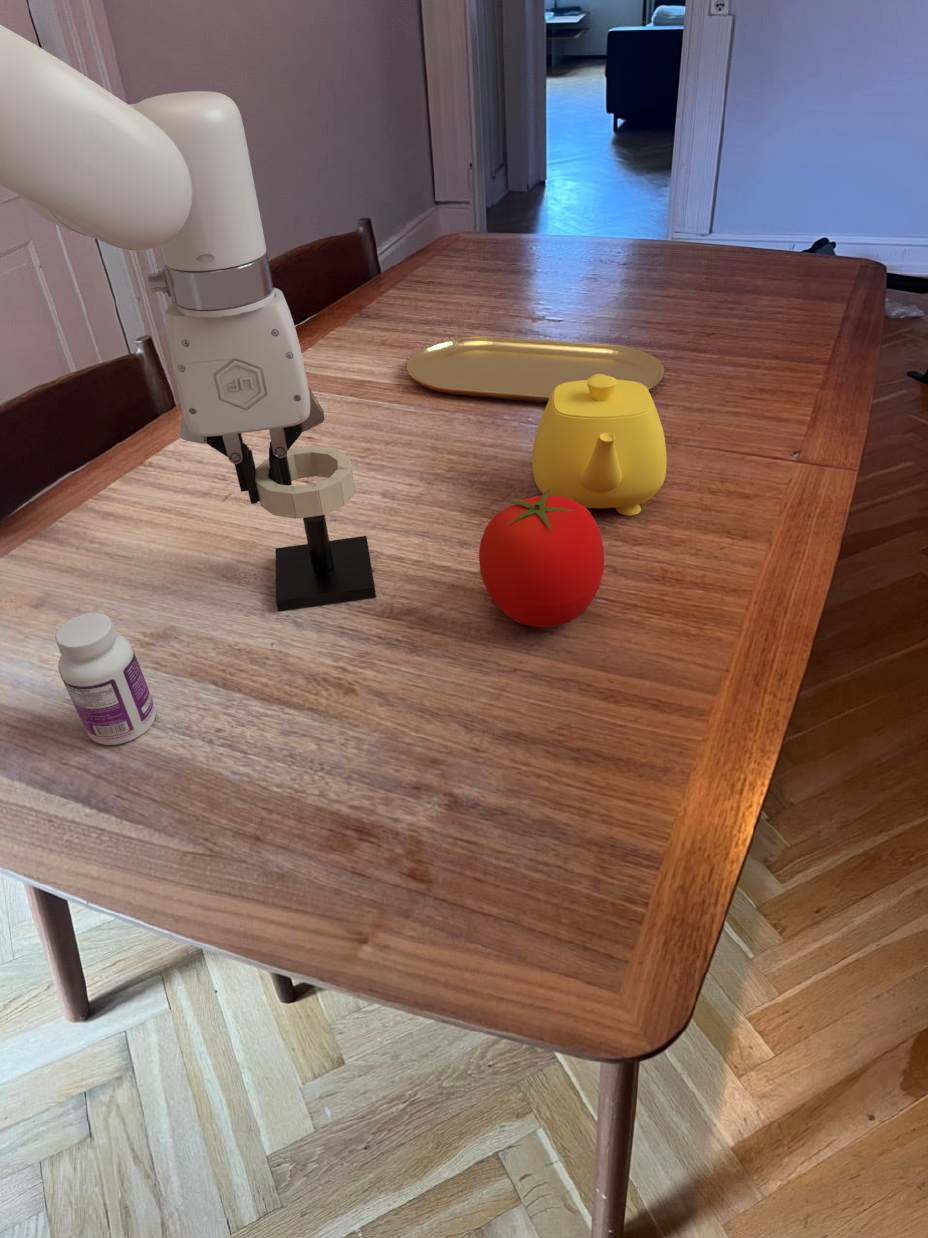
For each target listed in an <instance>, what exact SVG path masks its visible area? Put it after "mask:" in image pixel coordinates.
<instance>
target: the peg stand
mask: <svg viewBox="0 0 928 1238" xmlns="http://www.w3.org/2000/svg"><path fill="white" fill-rule="evenodd" d="M302 522H303V526H304V532H305V536H306V542H307V543H304V544H296V545H290V546H281V547H276V548H275V552H274V553H275V562H274V563H275V569H274V570H275V605H276V609H277V612H285V611H291V610H298V609H304V608H305V609H306V608H312V607H319V606H325V605H332V604H339V603H347V602H352V601H359V600H366V599H373V598H376V597H377V594H376V588H375V587H376V586H375V580H374V575H373V569H372V562H371V556H370V549H369V543H368V536H367V535H361V536H354V537H353V536H352V537H347V538H346V537H345V538H340V539H332V540H330V537H329V532H328V525H327V520H326V514H325V515H320V516H313V517H306V518H302Z"/></svg>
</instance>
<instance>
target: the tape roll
mask: <svg viewBox="0 0 928 1238" xmlns="http://www.w3.org/2000/svg"><path fill="white" fill-rule="evenodd" d="M287 459H288V464H289V469H290V474H291V481H292V482H293V481H296V480H298V479H306V478H312V477H318V478H324V479H322V480H321V481H320V480H319V481H317V482H315V483H312V484H305V485H304V484H303V485H297V486H296V485H295V486H294V485H289V486H287V485H280V484H277V483H276V482H274V481H273V478H272V474H271V469H270V464H269V457H267V458H266V459H265V460H263V462H262V463H260V464H259V465H258V466H257V467H255V468H256V470H255V483H256V488H257V492H258V496H259V505H260V507H261V508H263V509H264V510H266V511H267V512H268V513H270V514H271V515H272V516H274V517H275V516H276V517H282V518H288V519H294V520H296V519H297V520H298V519H303V518H306V517H313V516H320V515H325V516H326V515H328V514H330V513H331V512H334V511H336V510H339V509H340V508H342V507H345V506H346V504H348V503H349V501H350V500H351V499H352V498H353V497H354V496H355V495H356V487H355V479H354V474H353V473H354V472H353V466H352V459H351V456H349V455H348V454H346V453H344V452H343V451H341V450H339V449H337V448H335V447H326V446H318V445H313V446H304V447H295V448H290V449H289V450H288V453H287Z"/></svg>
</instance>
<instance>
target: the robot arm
mask: <svg viewBox="0 0 928 1238" xmlns="http://www.w3.org/2000/svg"><path fill="white" fill-rule="evenodd" d="M245 132H246V131H245V127H244V122H243V118H242V114H241V111H240V109H239V107H238V105H237V103H236V102H235V101H234V100H233V99H232V98H231V97H229V96H228V95H226V94H224V93H221V92H217V91H206V90H202V91H201V90H195V91H194V90H193V91H180V92H172V93H165V94H159V95H155V96H151V97H147V98H144V99H143V100H141V101H139V102H137V103H130V104H128V103H127V102H125V101H123V100H122V99H121V98H119V97H118V96H116V95H114V94H113V93H111V92H110V91H109V90H107V89H106V88H104V87H102V86H101V85H100V84H98V83H97V82H96V81H93V80H92V79H91V78H89V77H88V76H86V75H84V74H83V73H81V72H80V71H79V70H77V69H76V68H74V67H72V66H70V65H69V64H67V63H66V62H65V61H63V60H61V59H60V58H58V57H56V56H55V55H53V54H51V53H50V52H48V51H46V50H45V49H43V48H41V47H40V46H38V44H37V45H36V44H35V43H33V42H31V41H30V40H28V39H26V38H25V37H23V36H21V35H20V34H18V33H16V32H14V31H13V30H11V29H8V28H7V27H6V26H4V25H2V24H0V186H1V187H3V188H5V189H7V190H9V191H11V192H13V193H15V194H18V195H19V196H20V197H21V199H22V200H23V202H25V203H26V204H27V206H28V207H29V208H30V209H31V210H33V212H35V213H36V214H37V215H39V216H40V217H41V218H43V219H45V220H46V221H48V222H50V223H52V224H54V225H55V226H58V227H61V228H63V229H66V230H68V231H71V232H74V233H77V234H80V235H82V236H86V237H89V238H92V239H95V240H98V241H100V242H103V243H105V244H107V245H110V246H113V247H115V248H119V249H122V250H127V251H146V250H151V249H156V248H159V247H160V250H161V254H162V258H163V263H164V266H163V267H162V270H157V272H155V273H148V275H147V279H148V284H149V287H150V291H151V293H162V294H167V296H168V297H169V298H171V300H172V302H170V304H169V305H168V307H167V309H166V310H165V320H166V321H165V322H166V332H167V333H166V334H167V341H168V347H169V348H168V349H169V355H170V361H171V365H172V366H171V367H172V372H173V376H174V381H175V385H176V391H177V395H178V399H179V405H180V408H181V413H182V418H181V425H180V432H179V436H180V438H181V439H182V440H183V441H185V442H191V443H197V444H200V445H204V444H205V445H208V446H209V447H210V448H212V449H214V450H215V451H217V452H218V453H220V454H222V455H224V456H225V457H226V458H228V461H229V462H230V463H232V464H234V469H235V472H236V477H237V481H238V485H239V489H240V492H241V493H243V492H247V493H248V497H249V501H250V504H251V505H254V504H255V505H256V504H258V503H260V501H259V496H258V492H257V488H256V483H255V470H256V468H257V467H256V464H255V463H256V462H255V459H254V455H253V451H252V449H250V447H248V444H246V443H244V438H243V435H242V434H245V433H252V432H260V431H268V432H269V438H270V441H269V447H268V458H269V464H270V469H271V474H272V478H273V481H274V482H276V483H277V484H280V485H287V486H293V484H292V483H293V481H291V474H290V469H289V464H288V459H287V453H288V450H289V449H291V447H292V446H293V445H294V443H296V441H297V440H298V439H299V437H300V436H301V435H302V433H304V432H307V431H309V430H311V429H313V428H315V427H317V426H319V425H321V424H322V423H323V422H325V412H324V409H323V408H322V406H321V404H320V403H319V401H318V399H317V398H316V396H315V394H314V393H313V391H312V390H311V388H310V386H309V382H308V376H307V375H308V374H307V370H306V366H305V362H304V357H303V352H302V347H301V344H300V341H299V337H298V333H297V329H296V326H295V323H294V320H293V317H292V313H291V310H290V307H289V305H288V303H287V301H286V297H285V295H284V293H283V291H282V290H281V289H279V288H276V287H274V282H273V277H272V272H271V265H270V262H269V261H270V260H269V255H268V251H267V245H266V244H267V243H266V240H265V239H266V238H265V234H264V229H263V223H262V218H261V212H260V207H259V202H258V196H257V191H256V185H255V181H254V175H253V174H254V173H253V170H252V164H251V159H250V152H249V148H248V142H247V137H246V133H245Z"/></svg>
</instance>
